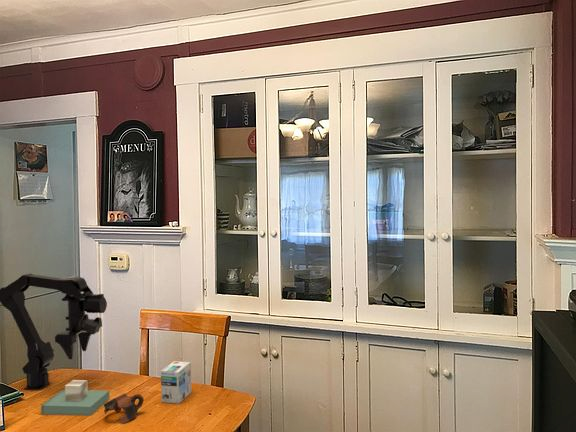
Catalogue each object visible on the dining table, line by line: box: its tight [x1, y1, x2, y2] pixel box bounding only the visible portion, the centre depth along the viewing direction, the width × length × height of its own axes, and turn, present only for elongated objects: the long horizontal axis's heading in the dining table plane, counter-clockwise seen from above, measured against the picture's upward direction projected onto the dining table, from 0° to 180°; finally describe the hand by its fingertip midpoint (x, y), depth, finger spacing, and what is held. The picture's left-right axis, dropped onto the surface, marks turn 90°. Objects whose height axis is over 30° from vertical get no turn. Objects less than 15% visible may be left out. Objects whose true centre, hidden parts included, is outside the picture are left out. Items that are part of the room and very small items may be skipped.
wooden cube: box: [64, 379, 89, 401], centre depth 163 cm, size 5×5×5 cm
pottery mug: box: [103, 392, 145, 425], centre depth 155 cm, size 12×10×8 cm
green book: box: [40, 388, 110, 416], centre depth 163 cm, size 16×13×3 cm
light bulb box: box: [160, 360, 192, 404], centre depth 169 cm, size 11×7×11 cm, turn 168°
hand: (77, 355), depth 180 cm, fingers open, 9 cm apart
